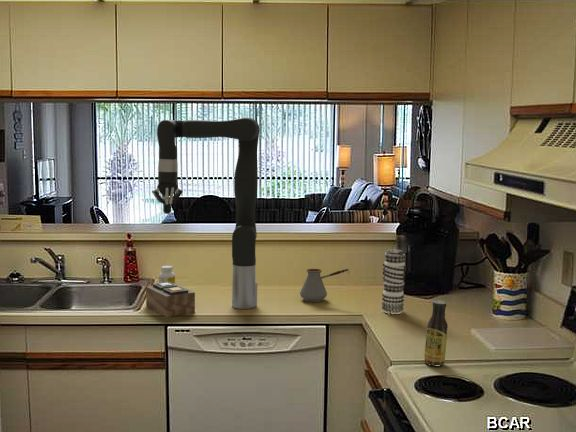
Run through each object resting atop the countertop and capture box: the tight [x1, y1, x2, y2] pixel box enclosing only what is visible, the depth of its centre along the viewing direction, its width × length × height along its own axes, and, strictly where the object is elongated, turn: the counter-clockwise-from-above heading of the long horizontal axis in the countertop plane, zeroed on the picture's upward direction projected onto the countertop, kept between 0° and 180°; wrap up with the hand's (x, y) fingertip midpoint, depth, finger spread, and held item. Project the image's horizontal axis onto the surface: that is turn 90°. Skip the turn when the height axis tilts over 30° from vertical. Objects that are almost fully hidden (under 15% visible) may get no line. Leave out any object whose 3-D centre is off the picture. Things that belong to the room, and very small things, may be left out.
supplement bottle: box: [158, 265, 176, 284], centre depth 281 cm, size 7×7×13 cm
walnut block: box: [145, 282, 196, 318], centre depth 261 cm, size 12×18×9 cm, turn 36°
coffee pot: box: [299, 268, 351, 303], centre depth 279 cm, size 21×12×15 cm, turn 65°
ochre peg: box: [168, 287, 183, 291], centre depth 258 cm, size 4×4×8 cm
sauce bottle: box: [423, 300, 449, 366], centre depth 206 cm, size 6×6×20 cm
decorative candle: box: [381, 248, 407, 313], centre depth 264 cm, size 9×9×25 cm
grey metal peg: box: [158, 283, 172, 287], centre depth 265 cm, size 4×4×8 cm
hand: (167, 213), depth 268 cm, fingers closed
